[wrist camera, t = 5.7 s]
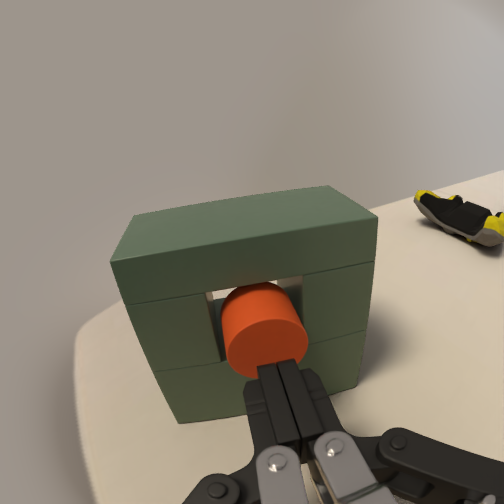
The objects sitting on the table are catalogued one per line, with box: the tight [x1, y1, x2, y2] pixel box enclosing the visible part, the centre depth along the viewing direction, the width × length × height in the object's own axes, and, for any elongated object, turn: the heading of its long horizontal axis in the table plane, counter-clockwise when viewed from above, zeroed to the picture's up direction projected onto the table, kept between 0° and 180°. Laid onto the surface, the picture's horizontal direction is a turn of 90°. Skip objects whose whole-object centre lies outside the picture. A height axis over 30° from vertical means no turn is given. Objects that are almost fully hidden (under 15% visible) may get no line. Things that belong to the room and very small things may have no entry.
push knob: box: [220, 282, 308, 378], centre depth 14 cm, size 3×4×4 cm
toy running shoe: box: [414, 190, 504, 247], centre depth 35 cm, size 15×6×10 cm
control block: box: [110, 186, 378, 423], centre depth 18 cm, size 6×12×12 cm, turn 100°
